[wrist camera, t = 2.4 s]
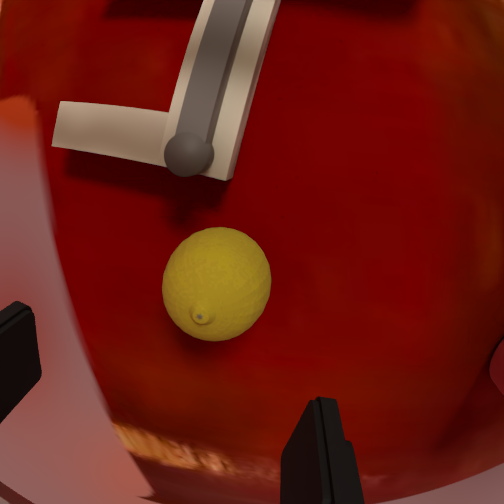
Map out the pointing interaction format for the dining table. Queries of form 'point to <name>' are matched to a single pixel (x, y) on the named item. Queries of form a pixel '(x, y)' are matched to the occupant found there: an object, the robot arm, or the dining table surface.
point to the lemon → (216, 284)
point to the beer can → (498, 367)
